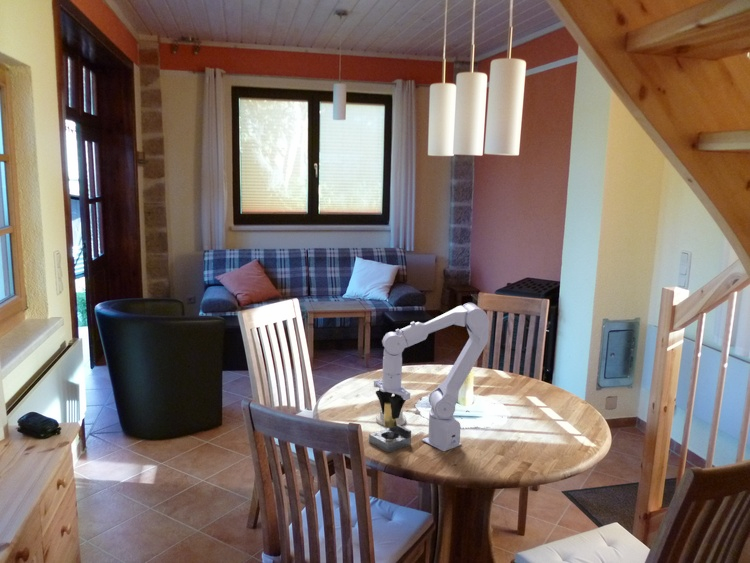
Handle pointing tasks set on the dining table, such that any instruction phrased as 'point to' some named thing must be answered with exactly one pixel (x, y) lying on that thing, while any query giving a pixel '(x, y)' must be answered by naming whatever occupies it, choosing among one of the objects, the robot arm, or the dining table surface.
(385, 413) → the brass cylinder rod
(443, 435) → the robot arm
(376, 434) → the jig
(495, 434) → the dining table surface
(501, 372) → the dining table surface
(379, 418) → the mechanical component
